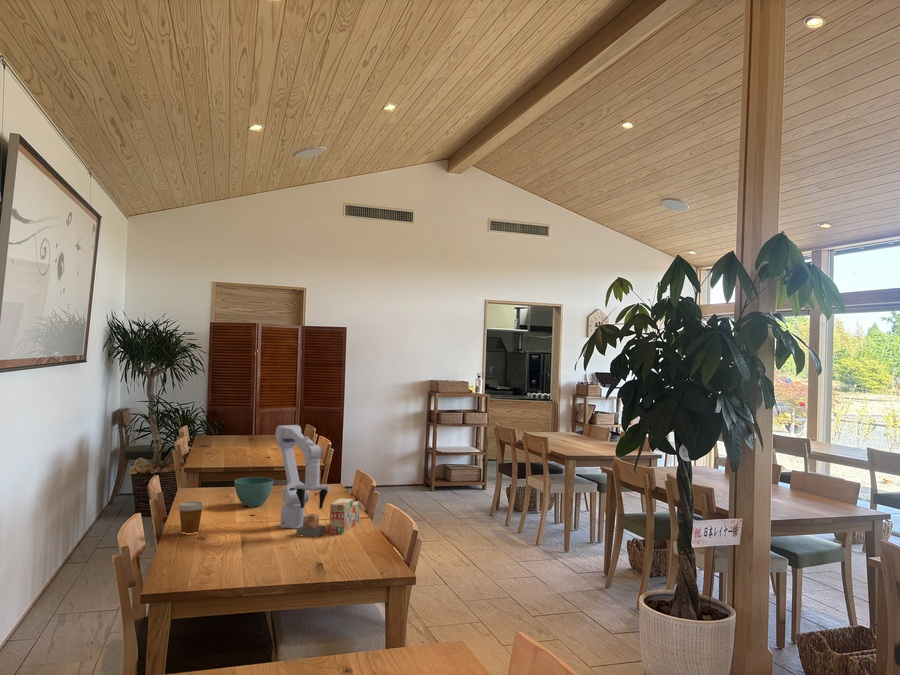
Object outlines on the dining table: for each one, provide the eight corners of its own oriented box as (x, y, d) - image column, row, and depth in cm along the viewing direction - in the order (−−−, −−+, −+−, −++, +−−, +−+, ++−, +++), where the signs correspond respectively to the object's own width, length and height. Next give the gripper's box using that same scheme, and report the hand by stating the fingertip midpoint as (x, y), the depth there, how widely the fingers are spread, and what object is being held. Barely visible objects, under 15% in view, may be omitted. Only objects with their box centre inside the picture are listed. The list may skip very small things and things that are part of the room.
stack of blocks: (345, 522, 296) (346, 494, 297) (359, 522, 295) (360, 494, 296) (329, 533, 275) (330, 503, 276) (343, 534, 274) (344, 504, 275)
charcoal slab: (296, 537, 270) (296, 529, 270) (303, 531, 279) (303, 524, 279) (318, 538, 269) (318, 530, 270) (324, 532, 278) (324, 525, 278)
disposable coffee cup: (207, 532, 273) (208, 502, 274) (189, 537, 265) (190, 506, 265) (190, 529, 277) (191, 500, 278) (172, 534, 269) (173, 504, 269)
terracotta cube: (302, 528, 272) (303, 516, 272) (306, 525, 277) (307, 513, 277) (314, 529, 272) (315, 516, 272) (318, 526, 276) (318, 514, 277)
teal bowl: (280, 504, 329) (281, 479, 330) (251, 511, 314) (252, 484, 314) (254, 500, 339) (255, 476, 340) (225, 506, 324) (226, 480, 324)
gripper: (292, 475, 272) (291, 509, 271) (327, 476, 271) (326, 510, 270) (297, 473, 279) (296, 506, 278) (331, 474, 278) (330, 507, 277)
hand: (311, 508), depth 275 cm, fingers open, 7 cm apart
